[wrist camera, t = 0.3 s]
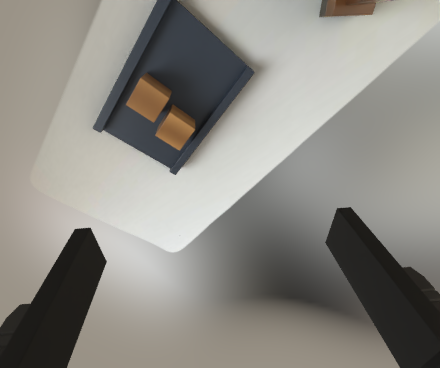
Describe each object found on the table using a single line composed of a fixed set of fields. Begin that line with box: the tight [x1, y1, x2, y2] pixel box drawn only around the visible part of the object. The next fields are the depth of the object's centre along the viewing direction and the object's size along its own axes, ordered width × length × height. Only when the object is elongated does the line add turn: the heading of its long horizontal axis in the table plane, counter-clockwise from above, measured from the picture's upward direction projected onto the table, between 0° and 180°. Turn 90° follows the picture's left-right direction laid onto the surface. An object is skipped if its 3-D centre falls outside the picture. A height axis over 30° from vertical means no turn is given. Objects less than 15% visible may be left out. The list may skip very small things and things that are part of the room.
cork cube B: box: [155, 105, 195, 151], centre depth 34 cm, size 4×4×4 cm
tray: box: [93, 0, 255, 175], centre depth 33 cm, size 20×14×2 cm
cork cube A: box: [126, 73, 172, 123], centre depth 31 cm, size 4×4×4 cm
